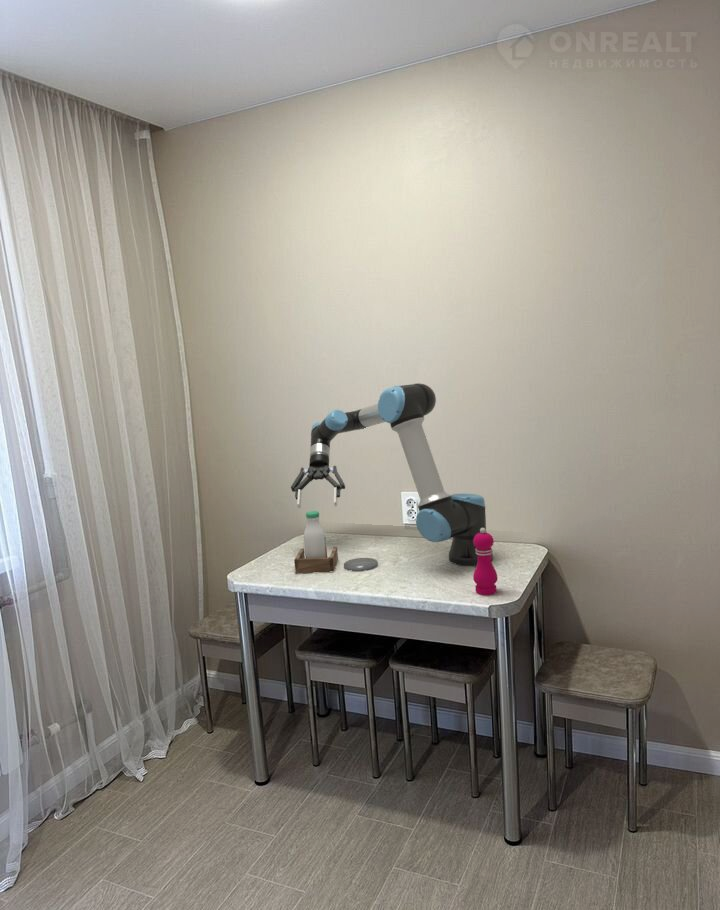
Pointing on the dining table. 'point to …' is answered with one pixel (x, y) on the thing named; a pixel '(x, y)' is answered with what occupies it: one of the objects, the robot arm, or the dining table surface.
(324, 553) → the milk bottle
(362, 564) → the coaster
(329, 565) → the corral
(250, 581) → the dining table surface
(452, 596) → the dining table surface
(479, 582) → the pepper mill
